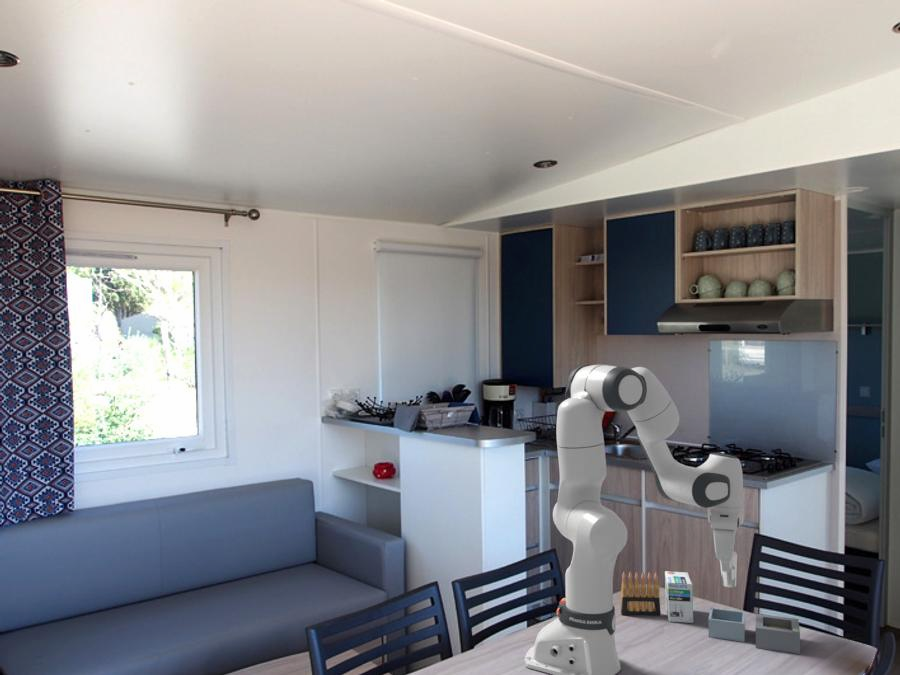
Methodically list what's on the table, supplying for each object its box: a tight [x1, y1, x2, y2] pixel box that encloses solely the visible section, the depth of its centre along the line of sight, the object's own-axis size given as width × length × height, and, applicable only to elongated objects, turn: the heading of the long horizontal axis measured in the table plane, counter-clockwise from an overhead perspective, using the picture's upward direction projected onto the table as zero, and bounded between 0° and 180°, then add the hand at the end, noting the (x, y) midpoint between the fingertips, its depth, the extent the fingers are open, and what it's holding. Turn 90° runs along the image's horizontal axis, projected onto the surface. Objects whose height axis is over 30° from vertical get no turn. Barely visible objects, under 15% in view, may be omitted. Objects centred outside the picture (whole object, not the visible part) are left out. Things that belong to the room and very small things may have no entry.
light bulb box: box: [664, 570, 694, 624], centre depth 204 cm, size 11×7×11 cm, turn 168°
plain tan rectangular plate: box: [764, 625, 790, 630], centre depth 185 cm, size 6×6×1 cm
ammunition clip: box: [620, 571, 662, 617], centre depth 205 cm, size 11×2×12 cm, turn 84°
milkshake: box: [719, 550, 738, 588], centre depth 192 cm, size 4×5×10 cm
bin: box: [707, 607, 746, 643], centre depth 192 cm, size 9×9×5 cm
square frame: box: [755, 613, 801, 655], centre depth 185 cm, size 10×10×6 cm
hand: (726, 567), depth 192 cm, fingers closed on milkshake, 4 cm apart
